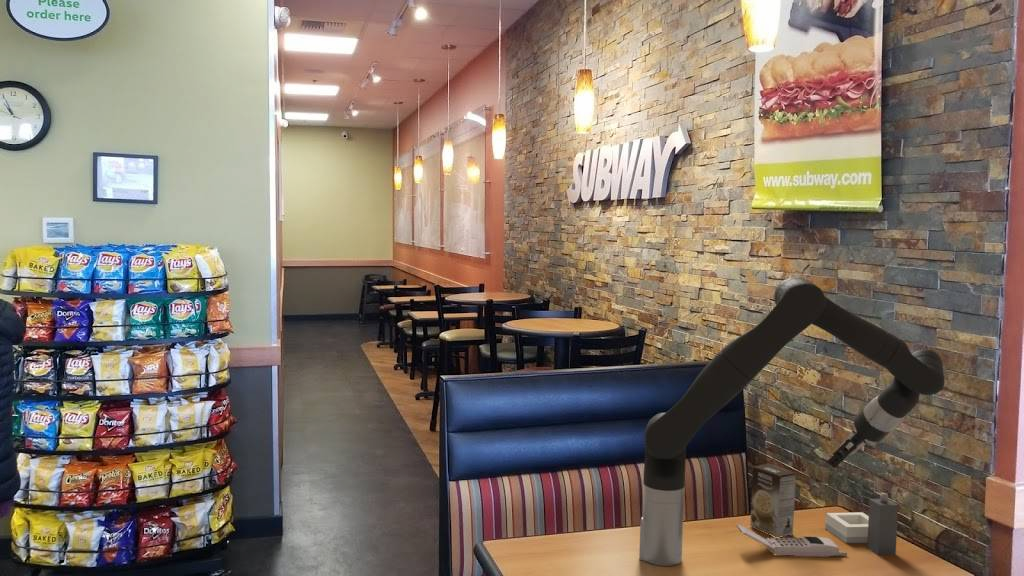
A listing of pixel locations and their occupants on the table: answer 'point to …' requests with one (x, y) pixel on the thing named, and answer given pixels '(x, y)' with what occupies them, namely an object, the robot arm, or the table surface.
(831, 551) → the mobile phone
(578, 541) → the table surface
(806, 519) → the table surface
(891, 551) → the plug
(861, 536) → the socket block
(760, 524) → the coffee box
